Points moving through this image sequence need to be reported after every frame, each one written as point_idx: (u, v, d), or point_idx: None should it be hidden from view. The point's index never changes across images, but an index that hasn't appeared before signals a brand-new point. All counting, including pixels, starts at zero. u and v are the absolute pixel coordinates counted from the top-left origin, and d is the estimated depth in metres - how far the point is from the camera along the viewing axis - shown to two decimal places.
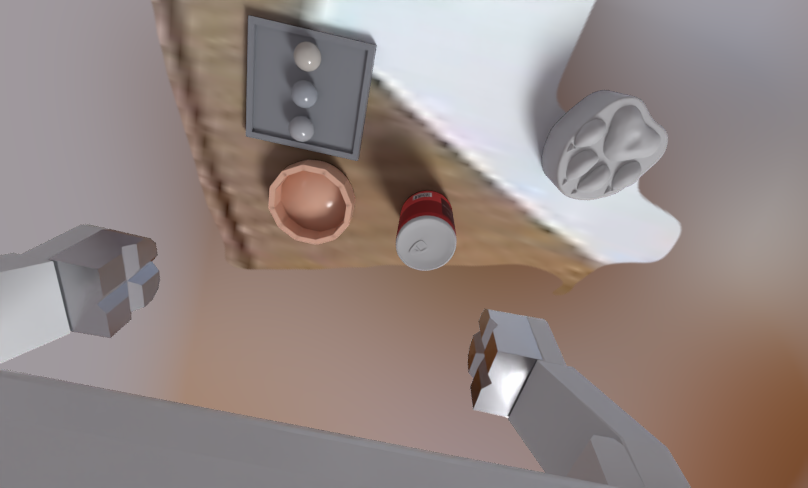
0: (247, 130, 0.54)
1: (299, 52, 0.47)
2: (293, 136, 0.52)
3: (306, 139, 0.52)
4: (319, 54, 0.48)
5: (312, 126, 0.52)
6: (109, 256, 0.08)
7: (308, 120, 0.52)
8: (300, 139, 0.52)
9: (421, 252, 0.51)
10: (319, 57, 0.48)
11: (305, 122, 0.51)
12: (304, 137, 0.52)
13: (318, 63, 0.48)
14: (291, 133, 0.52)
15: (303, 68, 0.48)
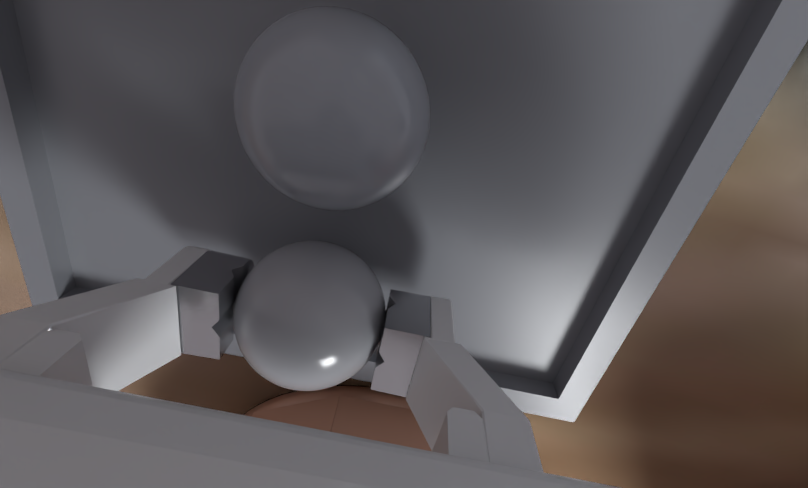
0: (36, 293, 0.11)
1: None
2: None
3: None
4: None
5: (380, 307, 0.09)
6: (223, 280, 0.08)
7: (358, 278, 0.08)
8: (308, 390, 0.08)
9: None
10: None
11: (344, 300, 0.08)
12: (332, 384, 0.08)
13: None
14: (250, 363, 0.08)
15: None
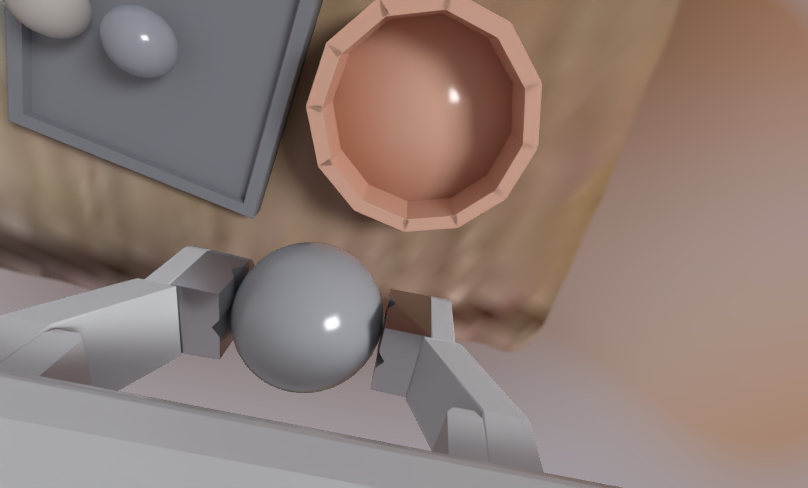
0: (240, 210, 0.25)
1: (10, 5, 0.18)
2: None
3: None
4: None
5: (377, 309, 0.09)
6: (223, 280, 0.08)
7: (355, 280, 0.08)
8: (306, 392, 0.08)
9: None
10: None
11: (341, 303, 0.08)
12: (329, 386, 0.08)
13: None
14: (248, 365, 0.08)
15: (60, 14, 0.19)
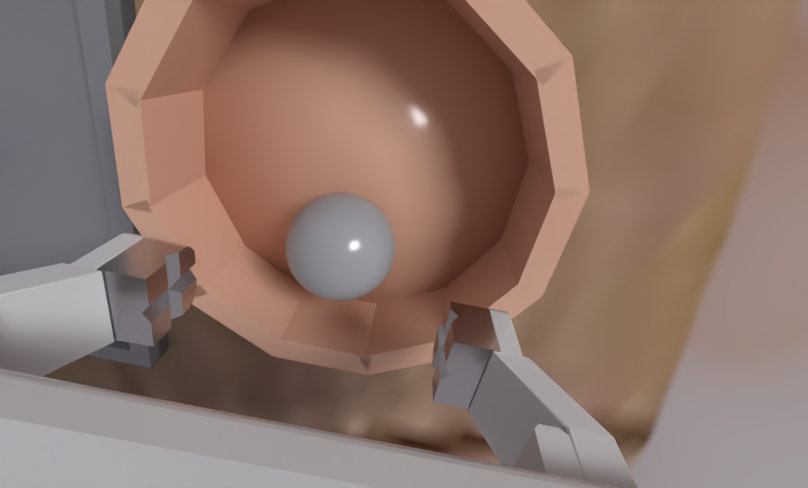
0: (130, 360, 0.17)
1: None
2: (307, 288, 0.11)
3: (363, 294, 0.12)
4: None
5: (391, 240, 0.12)
6: (154, 265, 0.08)
7: (376, 217, 0.11)
8: (338, 300, 0.12)
9: None
10: None
11: (366, 230, 0.11)
12: (356, 294, 0.11)
13: None
14: (298, 277, 0.11)
15: None
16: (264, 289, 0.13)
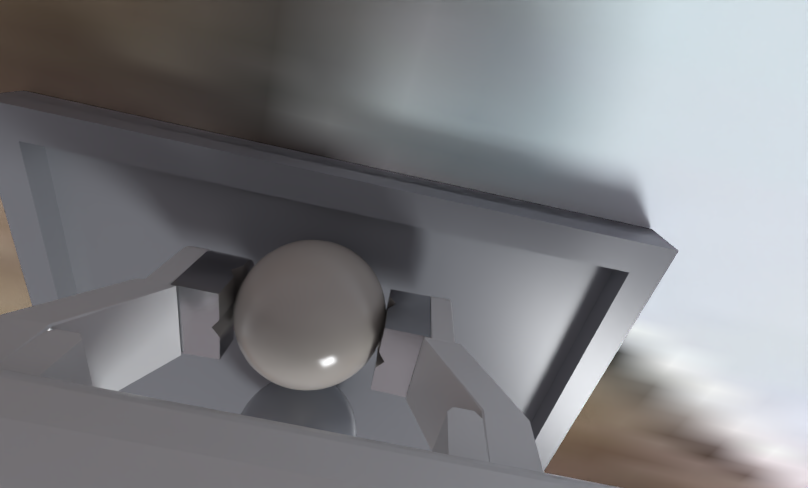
0: None
1: (265, 338, 0.07)
2: None
3: None
4: (380, 313, 0.09)
5: None
6: (223, 279, 0.08)
7: None
8: None
9: None
10: (380, 329, 0.09)
11: None
12: None
13: (373, 352, 0.09)
14: None
15: None
16: None
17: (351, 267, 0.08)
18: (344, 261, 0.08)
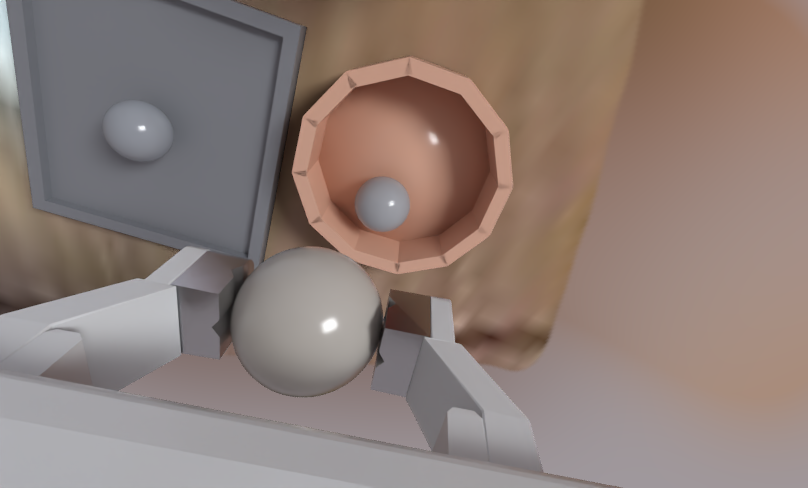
0: None
1: (261, 346, 0.07)
2: (360, 220, 0.23)
3: (387, 230, 0.23)
4: (377, 320, 0.09)
5: (406, 206, 0.23)
6: (223, 280, 0.08)
7: (400, 192, 0.22)
8: (374, 229, 0.23)
9: None
10: (377, 336, 0.09)
11: (393, 197, 0.22)
12: (382, 228, 0.23)
13: (369, 359, 0.09)
14: (357, 213, 0.23)
15: None
16: (343, 225, 0.25)
17: (348, 274, 0.08)
18: (341, 268, 0.08)
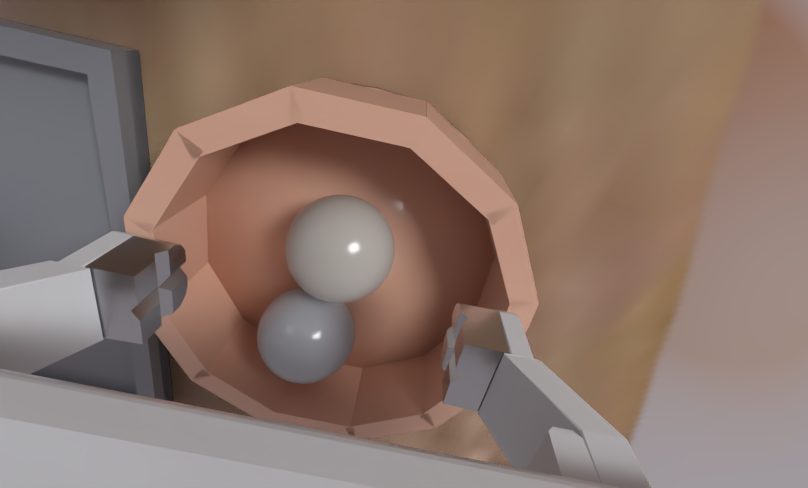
0: None
1: (310, 257, 0.11)
2: None
3: None
4: (391, 247, 0.12)
5: (339, 345, 0.13)
6: (143, 263, 0.08)
7: (324, 324, 0.12)
8: None
9: None
10: (390, 259, 0.12)
11: (307, 337, 0.12)
12: (300, 383, 0.13)
13: (385, 278, 0.12)
14: None
15: (325, 300, 0.12)
16: (260, 362, 0.15)
17: (370, 212, 0.11)
18: (365, 208, 0.11)
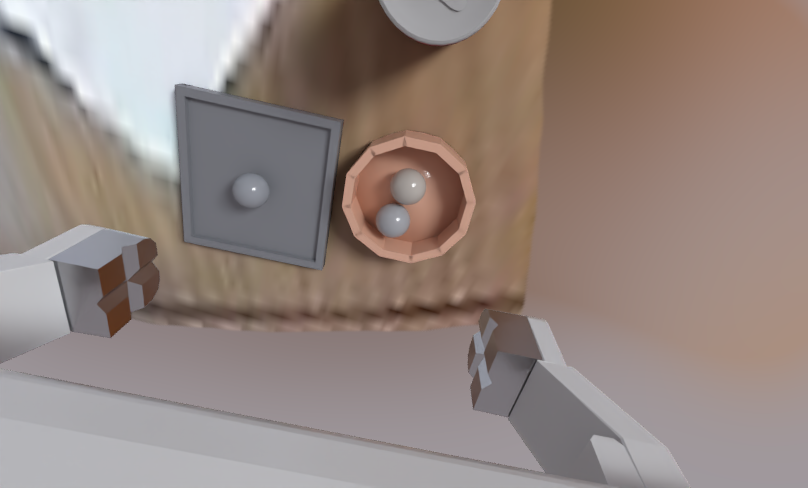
0: (314, 267, 0.42)
1: (399, 186, 0.35)
2: None
3: (394, 237, 0.38)
4: (424, 186, 0.35)
5: (404, 222, 0.37)
6: (109, 256, 0.08)
7: (399, 214, 0.36)
8: (386, 236, 0.38)
9: None
10: (424, 190, 0.36)
11: (394, 217, 0.36)
12: (389, 235, 0.37)
13: (422, 197, 0.36)
14: None
15: (401, 203, 0.36)
16: (374, 235, 0.39)
17: (418, 174, 0.35)
18: (417, 172, 0.35)
